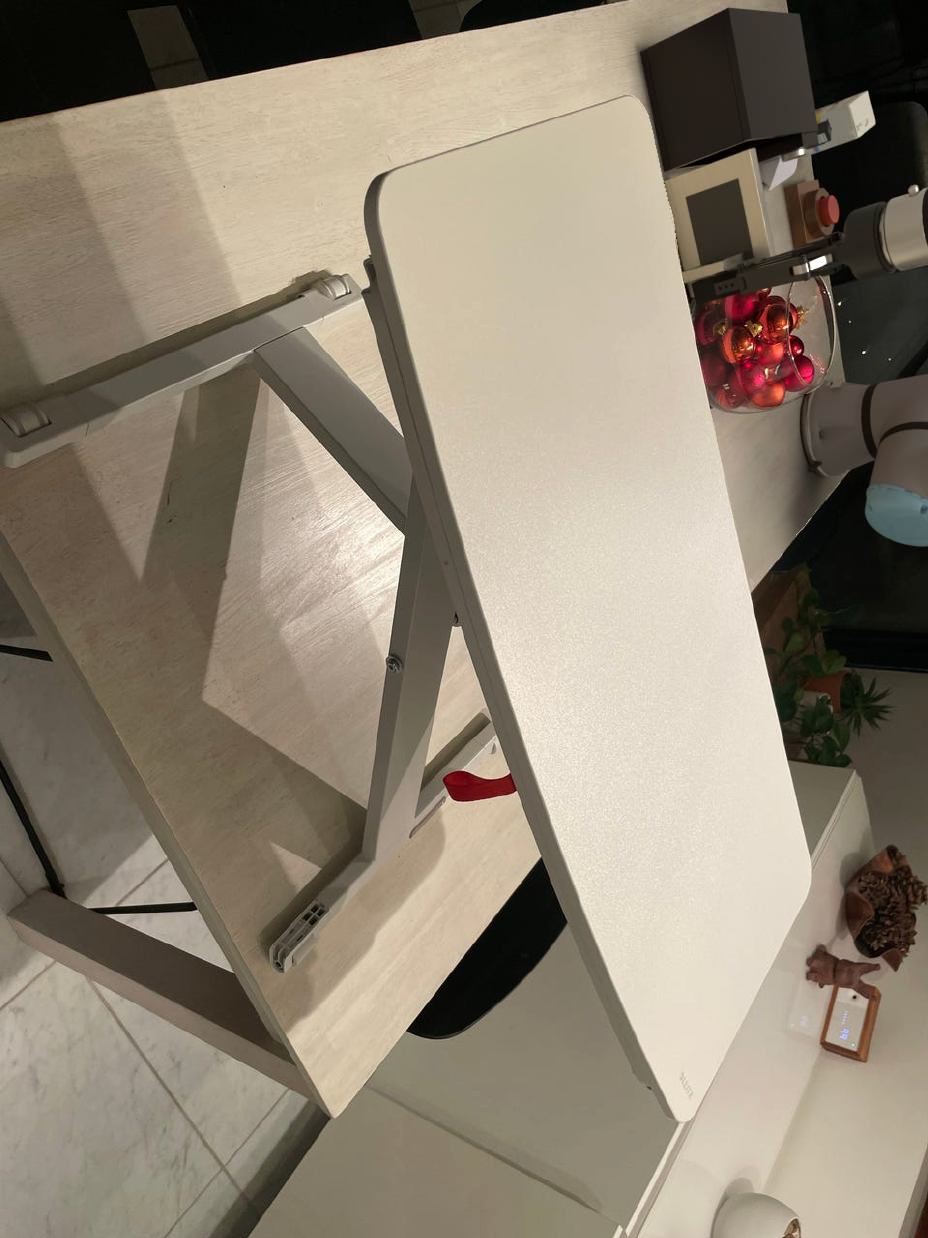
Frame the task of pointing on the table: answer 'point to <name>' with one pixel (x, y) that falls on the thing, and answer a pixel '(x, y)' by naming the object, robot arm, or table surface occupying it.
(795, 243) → the box
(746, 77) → the box
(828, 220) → the button
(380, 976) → the table surface
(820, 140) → the ink box
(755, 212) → the door
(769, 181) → the wedge on round base
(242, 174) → the table surface
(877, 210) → the robot arm
